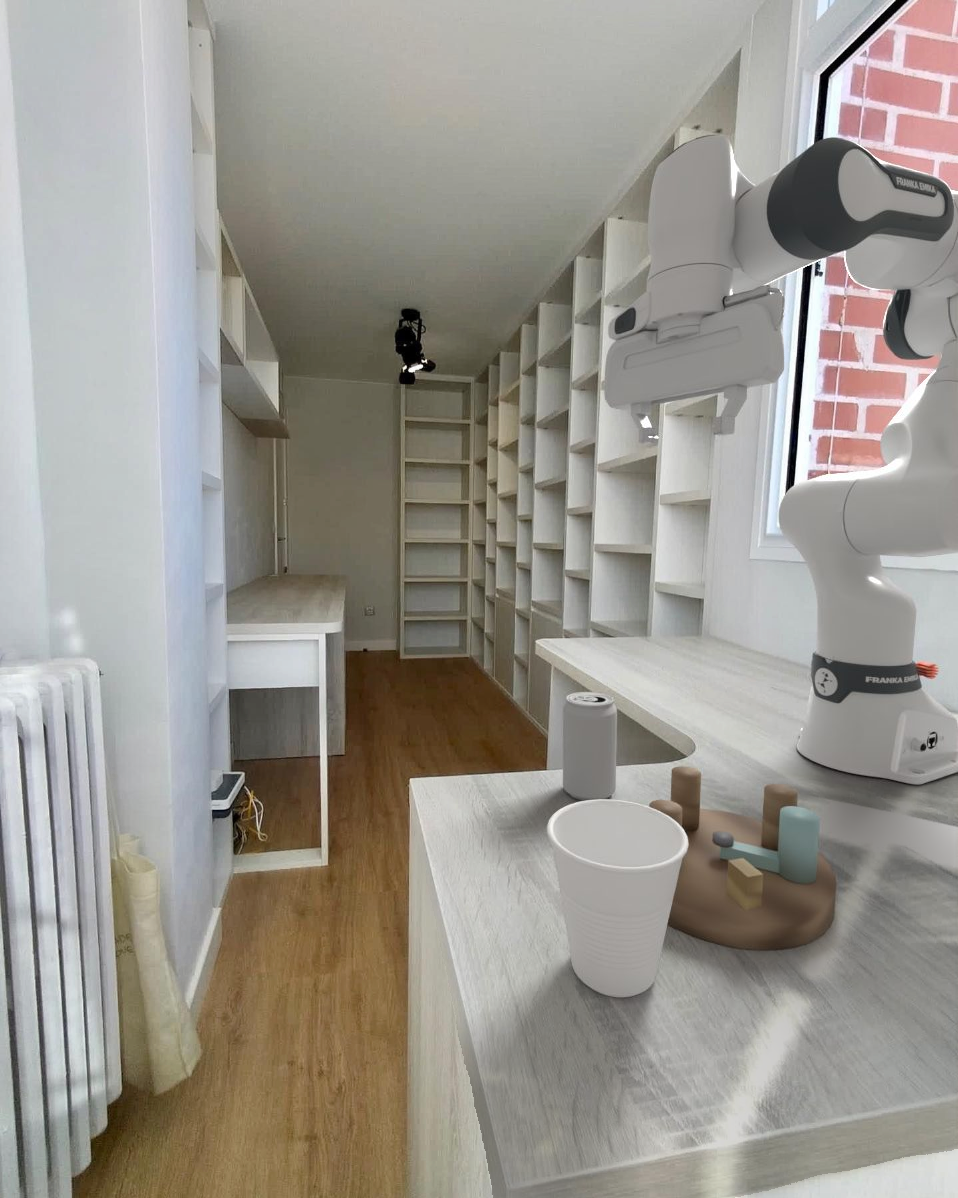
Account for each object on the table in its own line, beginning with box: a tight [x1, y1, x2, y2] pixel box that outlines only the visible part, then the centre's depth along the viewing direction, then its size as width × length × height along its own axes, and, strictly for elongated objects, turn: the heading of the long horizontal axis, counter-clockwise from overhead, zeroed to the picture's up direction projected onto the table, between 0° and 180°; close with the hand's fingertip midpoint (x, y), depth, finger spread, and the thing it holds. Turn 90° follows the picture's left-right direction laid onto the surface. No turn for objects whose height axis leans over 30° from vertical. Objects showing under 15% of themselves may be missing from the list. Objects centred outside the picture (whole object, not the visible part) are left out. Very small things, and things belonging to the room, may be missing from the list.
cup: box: [546, 798, 689, 998], centre depth 44 cm, size 10×10×11 cm
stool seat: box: [648, 765, 837, 951], centre depth 55 cm, size 18×18×8 cm
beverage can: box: [562, 691, 618, 801], centre depth 73 cm, size 6×6×12 cm
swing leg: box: [712, 806, 821, 884], centre depth 53 cm, size 8×3×5 cm, turn 59°
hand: (683, 439), depth 67 cm, fingers open, 8 cm apart
